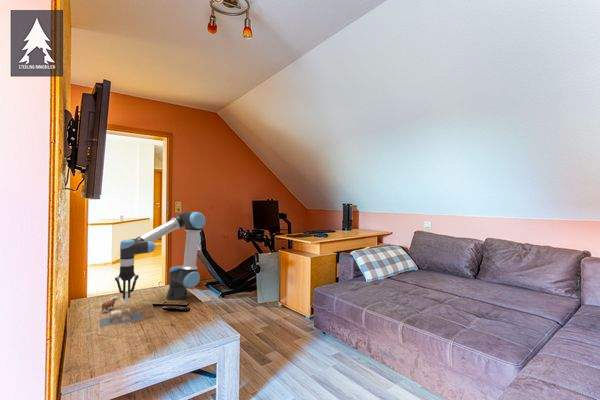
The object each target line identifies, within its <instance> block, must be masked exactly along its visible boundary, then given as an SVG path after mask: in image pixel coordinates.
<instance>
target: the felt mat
mask: <svg viewBox="0 0 600 400" xmlns="http://www.w3.org/2000/svg"><path fill="white" fill-rule="evenodd" d="M143 317H144V316H143V315H142V312H141V311H139V312H134V313H130V319H128V320H122V321H117V322H110V316H109V317H105V318H100V319H99V328H103V327H108V326H114V325H119V324H124V323H125V324H126V323H130V322H131V323H132V322H137V321H141V320H144V318H143Z"/></svg>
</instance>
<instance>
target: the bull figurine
mask: <svg viewBox="0 0 600 400" xmlns="http://www.w3.org/2000/svg"><path fill="white" fill-rule="evenodd" d="M119 300H120V299H119V297H118V296H116V295H115V296H112V297H111V298H110V299H108V300H107V301H105V302H103V303H102V304H101V314H104V311H105V312H106V313H110V311H115V310H114V306H115V303H116V301H119ZM109 310H110V311H109Z"/></svg>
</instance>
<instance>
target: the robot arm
mask: <svg viewBox="0 0 600 400" xmlns="http://www.w3.org/2000/svg"><path fill="white" fill-rule="evenodd" d="M206 220H207V219H206V217H205V215H204V214H203V213H201V212H198V211H189V210H188V211H183V212H181V213H179V214H177V215H175V216H172V217H171V219H170V220H169V221H166V222H164V223H163V224H161V225H159V226H157V227H155V228H153V229H151V230H149V231H147V232H145V233H143V234H141V235H140V236H137V237H136V238H130V239H122V240H121V241H120V245H119V246H120V247H119V257H120V258H119V274H118V275H117V276H116V277H114V281H115V282H116V284H117V288H118V291H119V293H120V294H122V299H123V300H124V305H129V299H130V298H131V294H132V292H134V290H135V287H136V284H137V280H138V279H139V274H136V273H135V255H141V254H142V255H143V254H144V255H145V254H149V253H153V252H154V251H155V243H154V241H157V240H159V239H161V238H162V237H163V236H165V235H168V234H170V233H171V232H173V231H174V230H180V229H182V228H184V231H185V232H186V237H185V247H184V257H183V263H182V264H183V265H176V266H172V267H170V268H169V271H168V272H169V275H168V276H169V278H168V279H169V280H168V284H169V285H168V286H169V287H168V290H167V293H166V300H169V301H178V300H179V301H180V300H184V299H186V298H188V297H189V291H188V288H190V289H192V288H194V287H195V286H197V285H198V284H199V282H200V280H201V275H200V273H199V272H198V270H199V268H198V266H197V258H198V257H197V256H198V248H199V239H200V233H201V232H202V229H203V228H204V226H205V225H206ZM133 278H134V279H133ZM132 279H133V282H132V286H131V281H132ZM120 280H121V281H122V287H121V282H120ZM126 281H127V286H126ZM126 287H127V291H126Z"/></svg>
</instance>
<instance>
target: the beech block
mask: <svg viewBox="0 0 600 400" xmlns="http://www.w3.org/2000/svg"><path fill="white" fill-rule="evenodd" d="M130 314H131V308H123V309H117V310H110V311H109V317H110V322H117V321H122V320H128V319H130Z"/></svg>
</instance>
